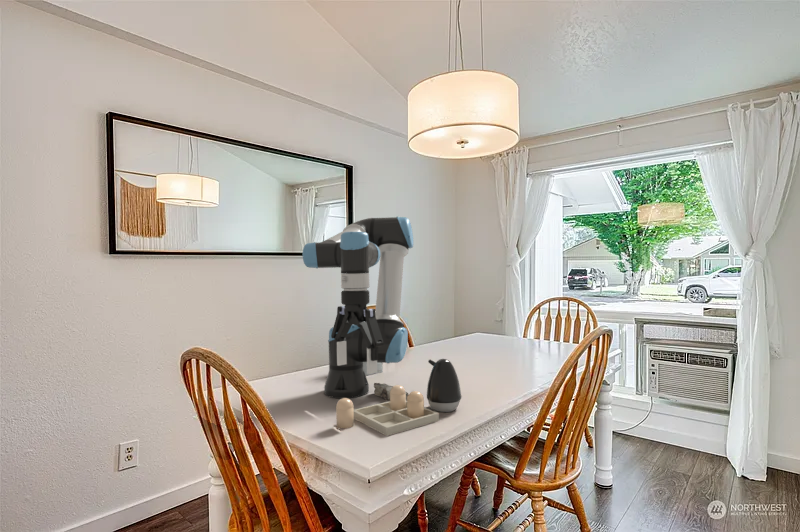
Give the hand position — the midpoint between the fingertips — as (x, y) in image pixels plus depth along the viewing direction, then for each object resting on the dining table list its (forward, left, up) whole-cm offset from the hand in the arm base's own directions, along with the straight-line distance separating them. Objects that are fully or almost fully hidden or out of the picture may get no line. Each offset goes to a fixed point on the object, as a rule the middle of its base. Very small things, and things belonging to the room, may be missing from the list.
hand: (356, 368), depth 119 cm
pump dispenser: (+4, +27, -16) cm, 32 cm away
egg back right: (+7, +15, -15) cm, 22 cm away
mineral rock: (-15, +22, -16) cm, 31 cm away
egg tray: (+2, +11, -16) cm, 19 cm away
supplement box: (-51, +35, -16) cm, 64 cm away
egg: (-2, -3, -16) cm, 16 cm away
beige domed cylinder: (-2, +15, -15) cm, 21 cm away
